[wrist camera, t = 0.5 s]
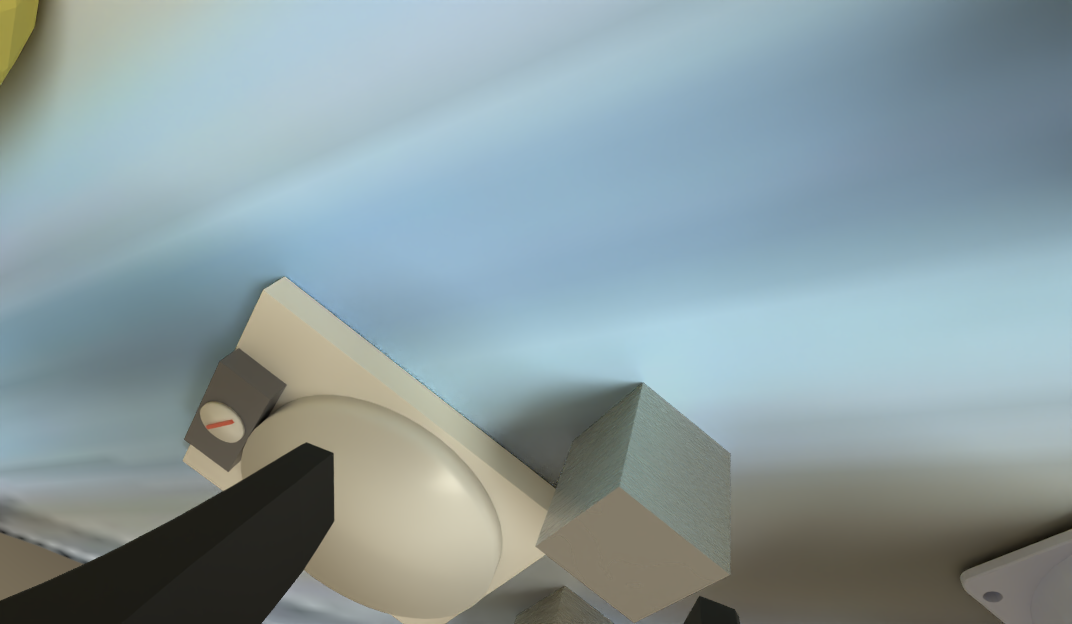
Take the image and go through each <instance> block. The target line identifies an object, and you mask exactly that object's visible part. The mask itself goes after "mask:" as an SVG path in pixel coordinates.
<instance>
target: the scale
mask: <svg viewBox="0 0 1072 624" xmlns="http://www.w3.org/2000/svg"><path fill="white" fill-rule="evenodd" d="M184 440H185V441H187V442H188V443H190V446H189V448H188V450H187V452H186V455H185V457H184V459H183V462H185V463H186V464H187V465H189V466H190V467H192V468H193V469H194V470H196V471H197V472H198V473H200V474H201V475H202V476H204V477H205V478H206V479H208V480H209V481H211V482H212V483H213V484H215V485H216V486H217V487H219V488H220V489H221V490H223V491H224V490H226V489H228V488H229V487H231V486H233V485H235V484H236V483H238V482H240V481H241V480H243V479H245V478H246V477H248V476H250V475H251V474H253V473H255V472H256V471H258V470H260V469H261V468H263V467H265V466H266V465H268V464H270V463H271V462H273V461H275V460H276V459H278V458H280V457H281V456H283V455H285V454H286V453H288V452H290V451H291V450H293V449H295V448H296V447H298V446H300V445H301V444H304V443H306V442H307V443H310V444H312V445H315V446H318V447H320V448H323V449H325V450H328V451H330V452H333V453H334V523H333V524H332V526H331V527H330V529H329V531H328V532H327V534H326V536H325V537H324V539H323V540H322V542H321V544H320V545H319V547H318V549H317V550H316V552H315V553H314V555H313V556H312V558H311V559H310V561H309V562H308V564H307V566H306V567H305V569H304V570H305V571H306V572H307V573H309V574H310V575H311V576H312V577H314V578H315V579H317V580H318V581H320V582H321V583H323V584H324V585H326V586H327V587H329V588H331V589H332V590H334V591H336V592H337V593H339V594H341V595H343V596H345V597H347V598H349V599H351V600H353V601H355V602H357V603H360V604H362V605H364V606H367V607H369V608H372V609H375V610H378V611H381V612H384V613H388V614H391V615H392V616H393V617H395V618H396V619H397V620H399V621H400V622H402V623H403V624H445V623H447V622H448V621H450V620H451V619H453V618H454V617H456V616H457V615H458V614H460V613H461V612H464V611H465V610H467V609H469V608H471V607H472V606H474V605H475V604H476V603H477V602H478V601H480V600H481V599H482V598H483V597H485V596H486V595H488V594H489V593H491V592H492V591H493V590H495V589H496V588H498V587H499V586H501V585H502V584H504V583H505V582H507V581H508V580H509V579H511V578H512V577H514V576H515V575H517V574H518V573H520V572H521V571H523V570H524V569H525V568H527V567H528V566H530V565H531V564H533V563H534V562H536V561H537V560H539V559H540V558H541V557H543V556H544V555H545V554H544V553H543V552H542V551H540V550H539V549H538V548H536V547H535V546H536V543H537V540H538V537H539V534H540V532H541V529H542V526H543V523H544V521H545V518H546V515H547V512H548V509H549V507H550V504H551V501H552V498H553V495H554V493H555V490H556V489H555V488H554V487H553V486H551V485H550V484H549V483H548V482H546V481H545V480H544V479H543V478H541V477H540V476H539V475H537V474H536V473H535V472H534V471H532V470H531V469H530V468H528V467H527V466H526V465H525V464H523V463H522V462H521V461H520V460H518V459H517V458H516V457H514V456H513V455H512V454H511V453H509V452H508V451H507V450H506V449H504V448H503V447H502V446H500V445H499V444H498V443H497V442H495V441H494V440H493V439H491V438H490V437H489V436H488V435H486V434H485V433H484V432H483V431H481V430H480V429H479V428H477V427H476V426H475V425H474V424H472V423H471V422H470V421H469V420H467V419H466V418H465V417H463V416H462V415H461V414H460V413H458V412H457V411H456V410H455V409H453V408H452V407H451V406H449V405H448V404H447V403H446V402H444V401H443V400H442V399H440V398H439V397H438V396H437V395H435V394H434V393H433V392H432V391H430V390H429V389H428V388H426V387H425V386H424V385H423V384H421V383H420V382H419V381H418V380H416V379H415V378H414V377H412V376H411V375H410V374H409V373H407V372H406V371H405V370H403V369H402V368H401V367H400V366H398V365H397V364H396V363H395V362H393V361H392V360H391V359H389V358H388V357H387V356H386V355H384V354H383V353H382V352H381V351H379V350H378V349H377V348H375V347H374V346H373V345H372V344H370V343H369V342H368V341H366V340H365V339H364V338H363V337H361V336H360V335H359V334H358V333H356V332H355V331H354V330H352V329H351V328H350V327H349V326H347V325H346V324H345V323H344V322H342V321H341V320H340V319H338V318H337V317H336V316H335V315H333V314H332V313H331V312H330V311H328V310H327V309H326V308H324V307H323V306H322V305H321V304H319V303H318V302H317V301H315V300H314V299H313V298H312V297H310V296H309V295H308V294H307V293H305V292H304V291H303V290H301V289H300V288H299V287H298V286H296V285H295V284H294V283H293V282H291V281H290V280H289V279H287V278H286V277H283V278H282V279H280V280H278V281H277V282H275V283H273V284H272V285H270V286H269V287H267V288H265V289H264V290H263V291H262V293H261V296H260V298H259V300H258V302H257V304H256V306H255V308H254V310H253V313H252V315H251V317H250V319H249V321H248V323H247V325H246V327H245V329H244V332H243V334H242V336H241V338H240V340H239V342H238V344H237V346H236V349H235V351H233V352H232V353H231V354H229V355H228V356H226V357H225V358H223V359H222V360H221V361H220V362H219V364H218V366H217V368H216V370H215V373H214V375H213V377H212V379H211V381H210V384H209V386H208V388H207V390H206V392H205V395H204V397H203V399H202V401H201V403H200V406H199V408H198V410H197V412H196V414H195V416H194V419H193V421H192V423H191V425H190V427H189V430H188V432H187V434H186V436H185V438H184Z"/></svg>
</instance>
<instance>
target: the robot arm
mask: <svg viewBox="0 0 1072 624" xmlns="http://www.w3.org/2000/svg"><path fill="white" fill-rule="evenodd" d="M333 523H334V453H333V452H330V451H328V450H325V449H323V448H320V447H318V446H315V445H312V444H310V443H307V442H306V443H304V444H301V445H300V446H298V447H296V448H295V449H293V450H291V451H290V452H288V453H286V454H285V455H283V456H281V457H280V458H278V459H276V460H275V461H273V462H271V463H270V464H268V465H266V466H265V467H263V468H261V469H260V470H258V471H256V472H255V473H253V474H251V475H250V476H248V477H246V478H245V479H243V480H241V481H240V482H238V483H236V484H235V485H233V486H231V487H229V488H228V489H226V490H224V491H223V492H221V493H219V494H217V495H215V496H214V497H212V498H210V499H208V500H207V501H205V502H203V503H201V504H200V505H198V506H196V507H194V508H193V509H191V510H189V511H187V512H186V513H184V514H182V515H180V516H178V517H176V518H175V519H173V520H171V521H169V522H167V523H165V524H163V525H161V526H159V527H157V528H156V529H154V530H152V531H150V532H148V533H146V534H144V535H142V536H140V537H138V538H136V539H134V540H133V541H131V542H129V543H127V544H125V545H123V546H121V547H119V548H117V549H115V550H113V551H111V552H109V553H107V554H105V555H103V556H100V557H98V558H96V559H94V560H92V561H90V562H88V563H86V564H84V565H82V566H79V567H77V568H75V569H73V570H71V571H68V572H66V573H64V574H62V575H59V576H57V577H55V578H53V579H51V580H48V581H46V582H44V583H42V584H39V585H37V586H35V587H32V588H30V589H27V590H25V591H22V592H20V593H18V594H15V595H13V596H10V597H8V598H6V599H3V600H1V601H0V624H261V623H262V622H263V621H264V620H265V618H266V617H267V616H268V615H269V613H270V612H271V611H272V610H273V608H274V607H275V606H276V605H277V603H278V602H279V601H280V600H281V598H282V597H283V596H284V594H285V593H286V592H287V591H288V589H289V588H290V587H291V586H292V584H293V583H294V582H295V580H296V579H297V578H298V577H299V575H300V574H301V573H302V571H303V570H304V569H305V567H306V566H307V564H308V562H309V561H310V559H311V558H312V556H313V555H314V553H315V552H316V550H317V549H318V547H319V545H320V544H321V542H322V540H323V539H324V537H325V536H326V534H327V532H328V531H329V529H330V527H331V526H332V524H333ZM960 581H961V583H962V586H963V588H964V589H965V591H966V592H967V593H968V594H970V595H971V596H972V597H973V598H974V599H976V600H977V601H978V602H979V603H980V604H982V605H983V606H984V607H985V608H986V609H988V610H989V611H990V612H991V613H992V614H994V615H995V616H996V617H997V618H998V619H1000V620H1001V621H1002V622H1003V623H1005V624H1072V529H1070V530H1068V531H1065V532H1062V533H1060V534H1057V535H1055V536H1052V537H1050V538H1047V539H1045V540H1042V541H1039V542H1037V543H1034V544H1032V545H1029V546H1027V547H1024V548H1021V549H1019V550H1016V551H1014V552H1011V553H1009V554H1006V555H1003V556H1001V557H998V558H996V559H993V560H991V561H988V562H985V563H983V564H980V565H978V566H975V567H973V568H970V569H968V570H966V571H964V572H963V573H962V574H961V576H960ZM990 591H991V592H990ZM684 624H740V621H739V616H738V614H737V613H736V611H735V609H732V608H730V607H727V606H724V605H722V604H719V603H717V602H714V601H712V600H709V599H707V598H704V597H701V596H699V598H698V599H697V601H696V603H695V605H694V606H693V608H692V610H691V612H690V613H689V615H688V617H687V619H686V620H685V622H684Z"/></svg>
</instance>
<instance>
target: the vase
mask: <svg viewBox="0 0 1072 624" xmlns="http://www.w3.org/2000/svg"><path fill="white" fill-rule="evenodd" d="M38 3H39V0H0V85H1V84H2V82H3V81H4V79H5V77H6V76H7V74H8V73H9V71H10V69H11V68H12V66H13V65H14V63H15V62H16V60H17V58H18V56H19V55H20V53H21V51H22V49H23V47H24V45H25V44H26V42H27V40H28V38H29V36H30V34H31V33H32V31H33V29H34V27H35V21H36V15H37V9H38Z"/></svg>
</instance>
